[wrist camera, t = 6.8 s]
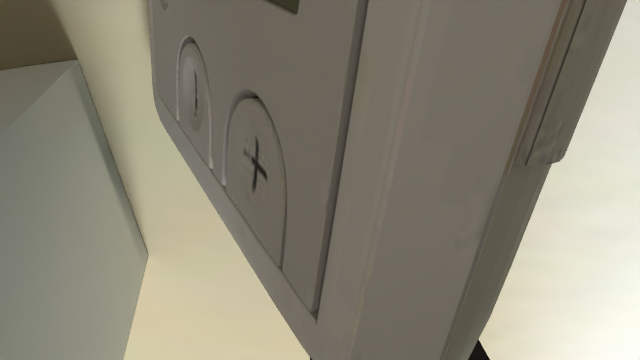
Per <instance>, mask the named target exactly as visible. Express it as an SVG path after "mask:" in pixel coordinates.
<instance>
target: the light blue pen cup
mask: <svg viewBox="0 0 640 360" xmlns="http://www.w3.org/2000/svg"><path fill="white" fill-rule="evenodd" d="M147 260H148V253H147V250H146V247H145V245H144V242H143V239H142V236H141V234H140V231H139V228H138V225H137V223H136V220H135V217H134V214H133V211H132V209H131V206H130V203H129V200H128V198H127V195H126V192H125V189H124V187H123V184H122V181H121V178H120V175H119V173H118V170H117V167H116V164H115V162H114V159H113V156H112V153H111V151H110V148H109V145H108V142H107V139H106V137H105V134H104V131H103V128H102V126H101V123H100V120H99V117H98V115H97V112H96V109H95V106H94V104H93V101H92V98H91V95H90V92H89V90H88V87H87V84H86V81H85V79H84V76H83V73H82V70H81V68H80V65H79V62H78V59H76V60H69V61H62V62H55V63H48V64H41V65H33V66H26V67H19V68H12V69H5V70H0V360H123V358H124V354H125V350H126V346H127V342H128V338H129V334H130V330H131V326H132V322H133V317H134V313H135V309H136V305H137V301H138V297H139V293H140V289H141V285H142V280H143V276H144V272H145V268H146V264H147Z"/></svg>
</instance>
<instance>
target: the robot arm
mask: <svg viewBox="0 0 640 360" xmlns="http://www.w3.org/2000/svg"><path fill="white" fill-rule="evenodd" d="M310 360H312V359H311V358H310ZM468 360H490V359H489V357H488V356H487V354H486V352H485V350H484V348H483V347H482V345H481V343H480V341H479V340H478V341H477V343H476V345H475V347H474V349H473V351H472V353H471V355H470V356H469V358H468Z"/></svg>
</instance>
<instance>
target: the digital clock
mask: <svg viewBox="0 0 640 360" xmlns="http://www.w3.org/2000/svg"><path fill="white" fill-rule="evenodd" d="M626 2H627V0H148V11H149V30H150V48H151V65H152V83H153V93H154V100H155V106H156V109H157V112H158V115H159V118H160V120H161V122H162V124H163V126H164V127H165V129H166V131H167V133H168V134H169V136H170V137H171V139H172V141H173V142H174V144H175V145H176V147H177V149H178V150H179V152H180V153H181V155H182V157H183V158H184V160H185V161H186V163H187V165H188V166H189V168H190V169H191V171H192V173H193V174H194V176H195V177H196V179H197V181H198V182H199V184H200V185H201V187H202V189H203V190H204V192H205V193H206V195H207V197H208V198H209V200H210V201H211V203H212V205H213V206H214V208H215V209H216V211H217V213H218V214H219V216H220V217H221V219H222V221H223V222H224V224H225V225H226V227H227V229H228V230H229V232H230V233H231V235H232V237H233V238H234V240H235V241H236V243H237V245H238V246H239V248H240V249H241V251H242V253H243V254H244V256H245V257H246V259H247V261H248V262H249V264H250V265H251V267H252V269H253V270H254V272H255V273H256V275H257V276H258V278H259V280H260V281H261V283H262V284H263V286H264V288H265V289H266V291H267V292H268V294H269V296H270V297H271V299H272V300H273V302H274V304H275V305H276V307H277V308H278V310H279V311H280V313H281V315H282V316H283V318H284V319H285V321H286V322H287V324H288V325H289V327H290V328H291V330H292V331H293V333H294V334H295V336H296V337H297V339H298V341H299V342H300V343H301V345H302V346H303V348H304V349H305V351H306V352H307V353H308V355H309V356H310V358H311V359H312V360H468V358H469V356H470V355H471V353H472V351H473V349H474V347H475V345H476V343H477V341H478V339H479V337H480V335H481V333H482V331H483V329H484V327H485V325H486V323H487V322H488V320H489V318H490V316H491V313H492V311H493V308H494V306H495V304H496V301H497V299H498V296H499V294H500V291H501V289H502V287H503V284H504V282H505V279H506V277H507V275H508V272H509V270H510V267H511V265H512V262H513V260H514V257H515V255H516V252H517V250H518V247H519V245H520V242H521V240H522V237H523V235H524V232H525V230H526V227H527V225H528V222H529V220H530V217H531V215H532V212H533V210H534V207H535V204H536V202H537V199H538V197H539V194H540V192H541V189H542V187H543V184H544V182H545V179H546V177H547V174H548V172H549V169H550V167H551V165H552V163H555V162H559V161H560V160H561V159H562V158H563V157H564V155H565V153H566V151H567V148H568V146H569V143H570V141H571V138H572V136H573V133H574V131H575V128H576V126H577V123H578V121H579V118H580V116H581V113H582V111H583V108H584V106H585V103H586V101H587V98H588V96H589V93H590V91H591V89H592V86H593V84H594V81H595V79H596V76H597V74H598V71H599V69H600V66H601V64H602V61H603V59H604V56H605V54H606V51H607V49H608V46H609V44H610V41H611V39H612V36H613V34H614V31H615V29H616V26H617V24H618V21H619V19H620V16H621V14H622V11H623V9H624V6H625V4H626Z"/></svg>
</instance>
